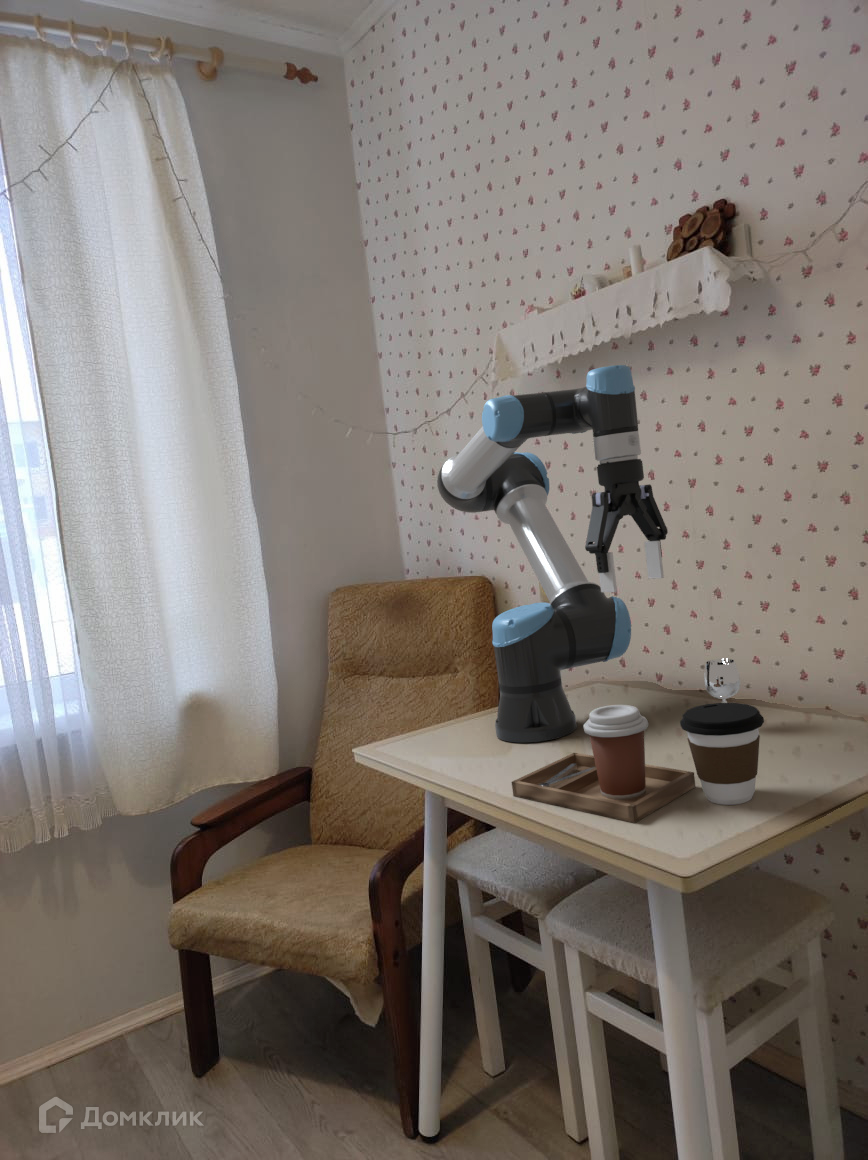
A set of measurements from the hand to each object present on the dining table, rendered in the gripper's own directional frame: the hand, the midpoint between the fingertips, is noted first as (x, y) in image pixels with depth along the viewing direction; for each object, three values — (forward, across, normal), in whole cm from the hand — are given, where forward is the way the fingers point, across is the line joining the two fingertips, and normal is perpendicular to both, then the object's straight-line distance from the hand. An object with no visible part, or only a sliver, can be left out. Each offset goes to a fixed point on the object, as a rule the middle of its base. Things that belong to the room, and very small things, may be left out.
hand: (633, 585), depth 152 cm
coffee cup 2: (+27, -19, -26) cm, 42 cm away
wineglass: (+27, +8, -10) cm, 30 cm away
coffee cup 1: (+26, -25, -12) cm, 38 cm away
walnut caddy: (+27, -25, -8) cm, 38 cm away
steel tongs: (+26, -25, -2) cm, 36 cm away
